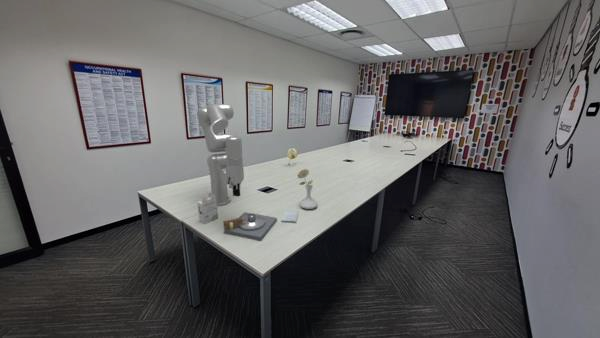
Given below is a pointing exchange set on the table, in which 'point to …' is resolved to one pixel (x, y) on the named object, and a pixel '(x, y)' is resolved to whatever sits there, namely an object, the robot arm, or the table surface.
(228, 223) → the wooden handled frying pan
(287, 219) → the hard drive
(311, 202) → the flower in vase
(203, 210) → the ink box
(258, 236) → the base plate
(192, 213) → the table surface
